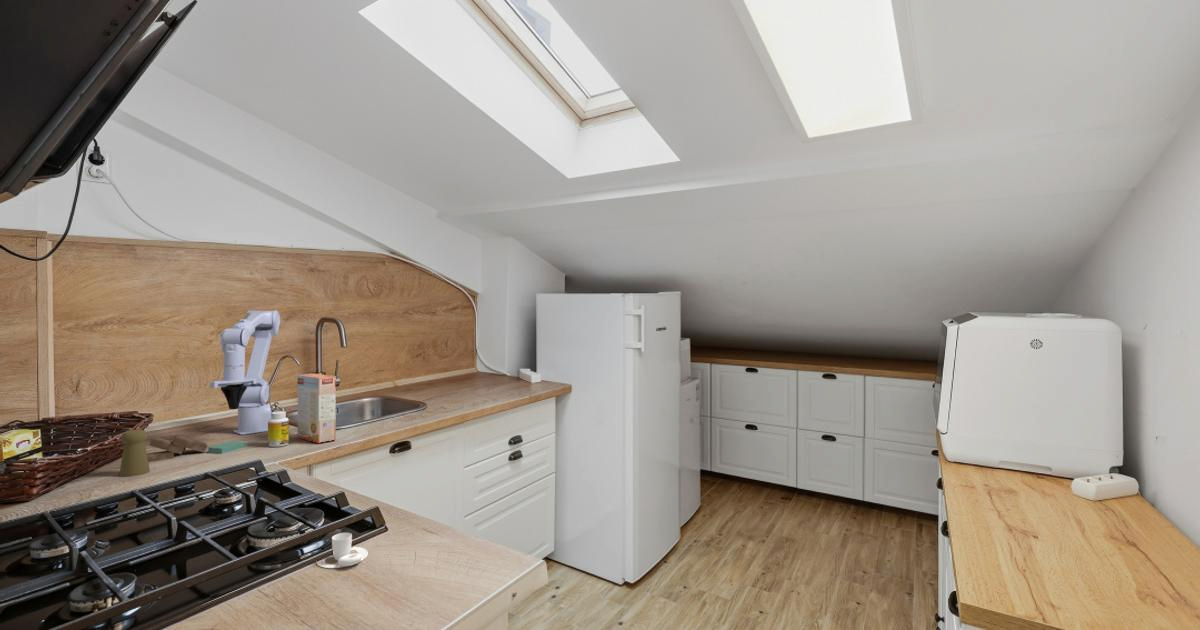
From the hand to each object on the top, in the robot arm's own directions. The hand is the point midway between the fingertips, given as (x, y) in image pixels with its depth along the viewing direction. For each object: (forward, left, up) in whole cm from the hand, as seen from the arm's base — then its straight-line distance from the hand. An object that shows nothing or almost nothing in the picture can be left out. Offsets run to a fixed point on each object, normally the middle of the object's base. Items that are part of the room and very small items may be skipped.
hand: (233, 408), depth 175 cm
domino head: (+1, +8, -10) cm, 13 cm away
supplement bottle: (-7, +16, -11) cm, 21 cm away
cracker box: (-18, +17, -11) cm, 27 cm away
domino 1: (+14, +6, -9) cm, 18 cm away
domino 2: (+17, +7, -10) cm, 21 cm away
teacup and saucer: (+19, +108, -11) cm, 111 cm away
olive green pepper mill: (+28, +19, -11) cm, 35 cm away
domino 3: (+9, +7, -9) cm, 15 cm away
